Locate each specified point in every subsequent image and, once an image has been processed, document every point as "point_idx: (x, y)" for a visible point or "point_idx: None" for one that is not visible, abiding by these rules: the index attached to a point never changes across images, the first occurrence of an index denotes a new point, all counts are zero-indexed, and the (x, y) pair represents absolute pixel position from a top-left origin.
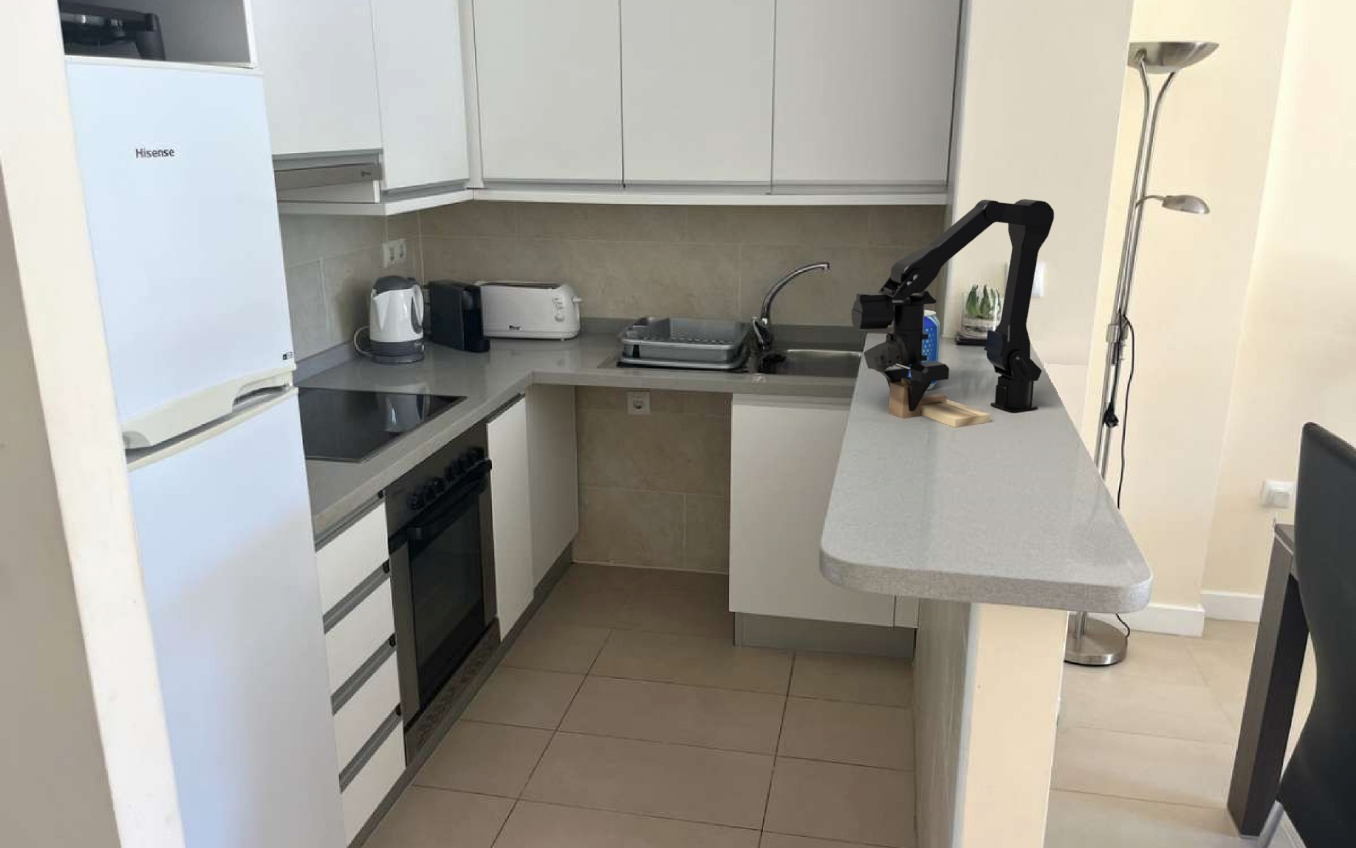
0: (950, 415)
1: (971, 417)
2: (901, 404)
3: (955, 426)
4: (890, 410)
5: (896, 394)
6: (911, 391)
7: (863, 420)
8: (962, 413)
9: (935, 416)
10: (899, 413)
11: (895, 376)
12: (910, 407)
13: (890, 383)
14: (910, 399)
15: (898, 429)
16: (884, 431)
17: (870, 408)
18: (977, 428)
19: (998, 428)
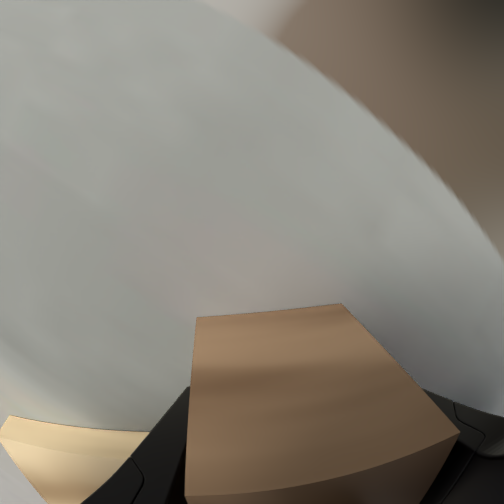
0: (50, 462)
1: (34, 485)
2: (210, 365)
3: (10, 419)
4: (332, 314)
5: (307, 402)
6: (107, 487)
7: (263, 62)
8: (80, 499)
9: (115, 442)
10: (230, 326)
11: (473, 501)
12: (178, 399)
13: (450, 432)
14: (154, 436)
15: (8, 170)
16: (12, 80)
17: (453, 258)
18: (7, 452)
19: (14, 481)
